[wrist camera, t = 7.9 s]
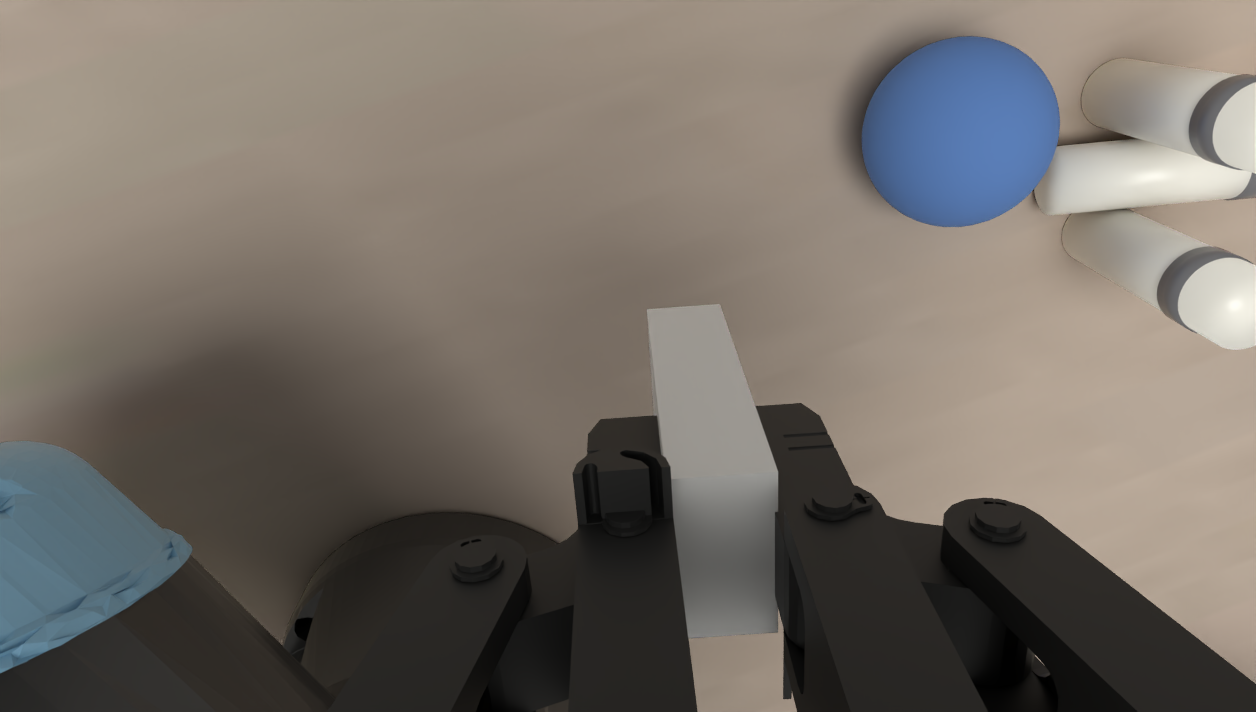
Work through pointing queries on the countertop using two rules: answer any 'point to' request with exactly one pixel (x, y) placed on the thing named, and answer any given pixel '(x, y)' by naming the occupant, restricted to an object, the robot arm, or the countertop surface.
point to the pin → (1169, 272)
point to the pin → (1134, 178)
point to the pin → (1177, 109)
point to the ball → (960, 131)
